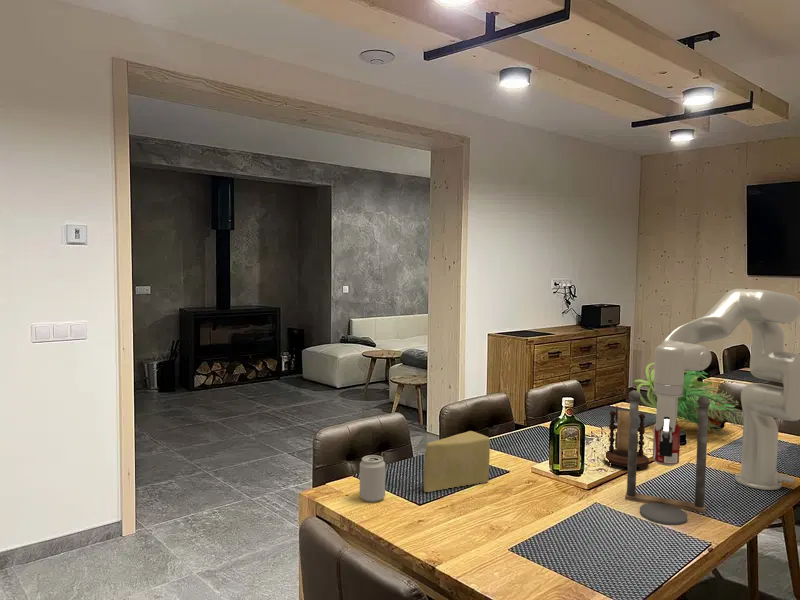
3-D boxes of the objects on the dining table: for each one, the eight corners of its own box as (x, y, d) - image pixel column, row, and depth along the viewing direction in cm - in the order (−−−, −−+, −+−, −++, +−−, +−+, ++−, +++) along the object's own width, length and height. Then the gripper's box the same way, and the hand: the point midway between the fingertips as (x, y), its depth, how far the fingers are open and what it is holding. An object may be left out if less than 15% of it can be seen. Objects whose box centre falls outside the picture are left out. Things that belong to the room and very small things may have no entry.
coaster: (687, 511, 169) (687, 507, 169) (687, 528, 158) (687, 524, 158) (641, 503, 174) (641, 500, 174) (638, 519, 163) (638, 516, 163)
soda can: (681, 467, 166) (683, 425, 166) (655, 466, 168) (656, 423, 167) (675, 459, 173) (677, 418, 172) (650, 458, 174) (651, 417, 174)
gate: (705, 508, 171) (710, 396, 169) (705, 512, 168) (710, 398, 166) (625, 495, 180) (629, 388, 178) (624, 499, 177) (628, 391, 175)
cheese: (434, 498, 177) (435, 448, 176) (415, 488, 185) (415, 439, 184) (490, 483, 189) (491, 436, 188) (469, 474, 197) (470, 428, 196)
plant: (766, 429, 224) (671, 379, 223) (701, 476, 246) (614, 431, 245) (749, 367, 251) (664, 323, 250) (693, 415, 273) (614, 374, 272)
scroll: (601, 467, 204) (603, 409, 203) (604, 454, 218) (606, 400, 216) (648, 474, 198) (650, 414, 197) (648, 460, 212) (650, 404, 211)
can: (389, 495, 178) (389, 455, 178) (378, 505, 172) (378, 463, 171) (367, 491, 181) (367, 452, 181) (354, 500, 175) (354, 459, 174)
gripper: (655, 382, 178) (653, 442, 180) (652, 394, 163) (649, 459, 164) (683, 385, 175) (681, 445, 176) (682, 397, 159) (680, 463, 161)
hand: (666, 451), depth 170 cm, fingers closed on soda can, 6 cm apart
